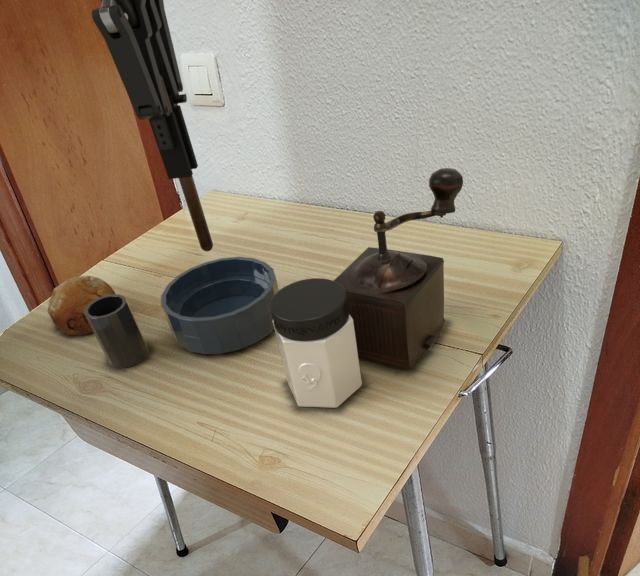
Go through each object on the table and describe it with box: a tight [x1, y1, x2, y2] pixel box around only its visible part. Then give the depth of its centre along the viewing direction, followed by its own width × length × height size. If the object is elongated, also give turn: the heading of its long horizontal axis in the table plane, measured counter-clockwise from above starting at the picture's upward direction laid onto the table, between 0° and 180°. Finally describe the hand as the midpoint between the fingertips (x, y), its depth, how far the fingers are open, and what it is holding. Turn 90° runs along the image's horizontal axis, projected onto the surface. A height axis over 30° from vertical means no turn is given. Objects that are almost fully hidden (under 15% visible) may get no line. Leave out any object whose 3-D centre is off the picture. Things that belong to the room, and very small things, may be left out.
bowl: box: [160, 256, 280, 355], centre depth 80 cm, size 15×15×6 cm
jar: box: [270, 277, 363, 409], centre depth 65 cm, size 9×8×12 cm
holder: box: [84, 293, 149, 369], centre depth 77 cm, size 5×6×8 cm
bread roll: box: [47, 275, 116, 336], centre depth 88 cm, size 10×10×8 cm
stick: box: [159, 74, 214, 252], centre depth 67 cm, size 2×2×20 cm
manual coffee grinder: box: [333, 167, 464, 371], centre depth 69 cm, size 16×11×18 cm
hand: (183, 172), depth 67 cm, fingers closed on stick, 1 cm apart
